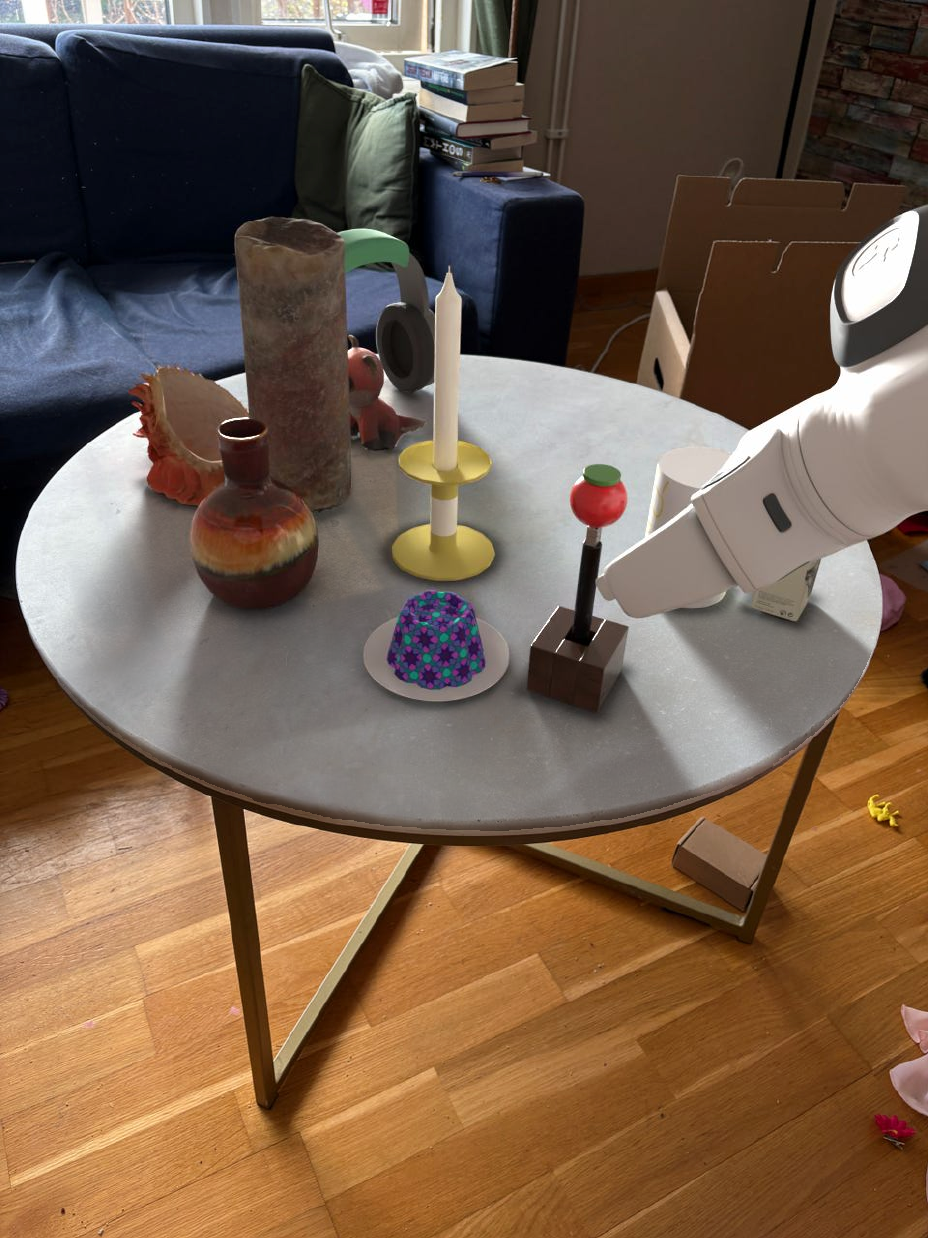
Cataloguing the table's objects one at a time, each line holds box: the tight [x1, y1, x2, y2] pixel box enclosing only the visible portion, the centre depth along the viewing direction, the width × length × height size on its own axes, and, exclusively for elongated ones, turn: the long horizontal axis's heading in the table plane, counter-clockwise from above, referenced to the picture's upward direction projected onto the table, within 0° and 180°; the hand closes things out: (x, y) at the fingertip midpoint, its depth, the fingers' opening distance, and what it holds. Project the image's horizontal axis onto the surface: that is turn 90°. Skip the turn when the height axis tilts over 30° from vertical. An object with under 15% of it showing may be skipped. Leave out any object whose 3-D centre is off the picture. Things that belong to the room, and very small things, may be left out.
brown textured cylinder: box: [234, 216, 353, 513], centre depth 90 cm, size 10×10×27 cm
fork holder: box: [526, 605, 630, 714], centre depth 75 cm, size 6×6×4 cm
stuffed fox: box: [347, 334, 428, 452], centre depth 106 cm, size 8×11×12 cm
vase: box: [189, 418, 320, 611], centre depth 81 cm, size 11×11×15 cm
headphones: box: [337, 228, 435, 393], centre depth 114 cm, size 19×11×20 cm, turn 126°
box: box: [750, 558, 822, 622], centre depth 82 cm, size 5×4×13 cm
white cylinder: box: [644, 445, 733, 609], centre depth 84 cm, size 8×8×12 cm
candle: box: [391, 265, 496, 582], centre depth 83 cm, size 10×10×27 cm
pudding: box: [362, 589, 511, 702], centre depth 76 cm, size 12×12×5 cm
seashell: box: [128, 362, 249, 506], centre depth 100 cm, size 17×11×15 cm
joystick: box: [569, 463, 628, 647], centre depth 70 cm, size 4×4×19 cm
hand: (642, 559), depth 67 cm, fingers open, 8 cm apart
